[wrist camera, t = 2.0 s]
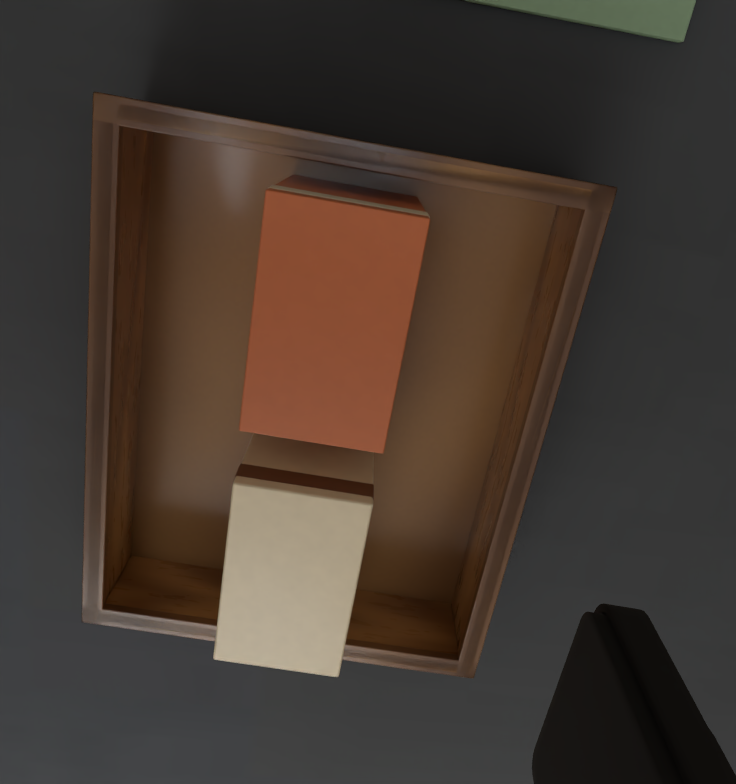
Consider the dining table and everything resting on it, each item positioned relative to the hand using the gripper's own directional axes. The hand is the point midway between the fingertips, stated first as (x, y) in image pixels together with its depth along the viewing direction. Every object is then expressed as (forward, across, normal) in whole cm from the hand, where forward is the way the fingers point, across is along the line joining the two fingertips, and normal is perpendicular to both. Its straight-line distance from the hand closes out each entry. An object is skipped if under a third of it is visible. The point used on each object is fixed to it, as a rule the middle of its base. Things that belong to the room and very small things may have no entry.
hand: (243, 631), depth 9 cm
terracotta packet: (+20, 0, -1) cm, 20 cm away
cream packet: (+20, 0, +9) cm, 22 cm away
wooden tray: (+21, 0, +4) cm, 21 cm away
